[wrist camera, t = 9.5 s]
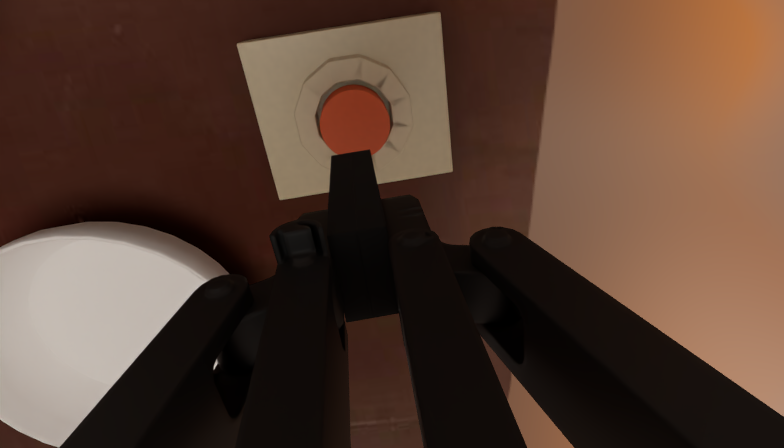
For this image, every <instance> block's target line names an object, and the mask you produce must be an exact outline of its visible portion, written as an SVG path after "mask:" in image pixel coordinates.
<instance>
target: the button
mask: <svg viewBox="0 0 784 448" xmlns="http://www.w3.org/2000/svg"><path fill="white" fill-rule="evenodd" d="M320 131H321V135H322V137H323V140H324V141H325V143H326V145H327V146H328V147H329V148H330V149H331V150H332V151H333V152H334V153H336V154H338V155H339V154H345V153H351V152H357V151H363V150H369V149H370V151H371V155H373V154H375V153H376V152H378V151H379V150H380V149H381V148H382V146H383V145H384V144H385V142H386V140H387V138H388V135H389V132H390V118H389V114H388V111H387V109H386V106H385V104H384V102H383V100H382V99H381V97H380V96H379V95H378V94H377V93H376V92H374V91H373V90H371V89H370V88H368V87H365V86H362V85H355V84H352V85H346V86H342V87H340V88H338V89H336V90H335V91H333V92H332V93H331V94H330V95H329V96H328V98H327V99H326V101H325V102H324V105H323V107H322V111H321V116H320Z"/></svg>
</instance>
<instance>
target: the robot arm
mask: <svg viewBox="0 0 784 448" xmlns="http://www.w3.org/2000/svg"><path fill="white" fill-rule="evenodd" d="M270 240H271V243H272V246H273V250H274V253H275V256H276V260H277V263H278V265H277V269H276V274H275V275H274V276H272V277H270V278H268V279H265V280H263V281H260V282H258V283H255V284H252V285H249V284H248V281H247V279H246V277H244V276H242V275H240V274H228V275H220V276H218V277H214V278H212V279H210V280H209V281H207V282H205V283H203V284H202V285H201V286H200V287H198V288H197V289H196V290H195V291H194V292H193V293H192V295H191V296H190V297H189V298H188V299H187V300H186V302H185V303H184V304H183V305H182V306H181V307H180V308H179V310H178V311H177V312H176V313H175V314H174V315H173V317H172V318H171V319H170V320H169V321H168V322H167V324H166V325H165V326H164V327H163V328H162V329H161V330H160V332H159V333H158V334H157V335H156V336H155V337H154V339H153V340H152V341H151V342H150V343H149V344H148V346H147V347H146V348H145V349H144V350H143V351H142V352H141V354H140V355H139V356H138V357H137V358H136V359H135V361H134V362H133V363H132V364H131V365H130V366H129V367H128V369H127V370H126V371H125V372H124V373H123V374H122V376H121V377H120V378H119V379H118V380H117V381H116V383H115V384H114V385H113V386H112V387H111V388H110V389H109V391H108V392H107V393H106V394H105V395H104V396H103V398H102V399H101V400H100V401H99V402H98V403H97V405H96V406H95V407H94V408H93V409H92V410H91V411H90V413H89V414H88V415H87V416H86V417H85V418H84V420H83V421H82V422H81V423H80V424H79V425H78V426H77V428H76V429H75V430H74V431H73V432H72V433H71V435H70V436H69V437H68V438H67V439H66V440H65V442H64V443H63V444H62V445H61V446H60V447H59V448H351V441H350V405H349V369H348V334H347V330H346V326H345V321H344V314H345V318H346V322H352V321H357V320H363V319H369V318H374V317H380V316H386V315H391V314H397V313H399V316H400V322H401V328H402V335H403V341H404V347H405V349H406V355H407V360H408V365H409V371H410V376H411V381H412V387H413V392H414V398H415V403H416V408H417V414H418V419H419V424H420V430H421V435H422V440H423V446H424V448H527V446H526V444H525V441H524V439H523V437H522V434H521V432H520V430H519V427H518V425H517V423H516V420H515V418H514V415H513V413H512V410H511V408H510V406H509V403H508V401H507V398H506V396H505V394H504V391H503V389H502V387H501V384H500V382H499V379H498V377H497V375H496V372H495V370H494V367H493V365H492V363H491V360H490V358H489V356H488V353H487V351H486V348H485V346H484V344H483V341H482V339H481V337H480V335H481V336H482V338H483V339H484V340H485V341H486V342H487V344H488V345H489V346H490V347H491V348H492V350H493V351H494V352H495V353H496V354H497V356H498V357H499V358H500V359H501V360H502V362H503V363H504V364H505V365H506V366H507V368H508V369H509V370H510V371H511V372H512V374H513V375H514V376H515V377H516V378H517V379H518V381H519V382H520V383H521V384H522V385H523V387H524V388H525V389H526V390H527V391H528V393H529V394H530V395H531V396H532V397H533V399H534V400H535V401H536V402H537V403H538V405H539V406H540V407H541V408H542V409H543V411H544V412H545V413H546V414H547V415H548V416H549V418H550V419H551V420H552V421H553V422H554V424H555V425H556V426H557V427H558V429H559V430H560V431H561V432H562V433H563V435H564V436H565V437H566V438H567V439H568V441H569V442H570V443H571V444H572V445H573V447H574V448H784V417H783V416H782V415H780V414H779V413H777V412H776V411H775V410H773V409H772V408H770V407H769V406H767V405H766V404H765V403H763V402H762V401H760V400H759V399H757V398H756V397H754V396H753V395H751V394H750V393H749V392H747V391H746V390H744V389H743V388H741V387H740V386H739V385H737V384H736V383H734V382H733V381H731V380H730V379H729V378H727V377H726V376H724V375H723V374H722V373H720V372H719V371H717V370H716V369H714V368H713V367H712V366H710V365H709V364H707V363H706V362H704V361H703V360H701V359H700V358H699V357H697V356H696V355H694V354H693V353H691V352H690V351H689V350H687V349H686V348H684V347H683V346H681V345H680V344H678V343H677V342H676V341H674V340H673V339H671V338H670V337H669V336H667V335H665V334H664V333H662V332H661V331H660V330H658V329H657V328H656V327H654V326H653V325H651V324H650V323H649V322H647V321H646V320H644V319H643V318H641V317H640V316H639V315H637V314H636V313H634V312H633V311H631V310H630V309H628V308H627V307H626V306H624V305H623V304H621V303H620V302H618V301H617V300H616V299H614V298H613V297H611V296H610V295H608V294H607V293H606V292H604V291H603V290H601V289H600V288H598V287H597V286H596V285H594V284H593V283H591V282H590V281H588V280H587V279H586V278H584V277H583V276H581V275H580V274H578V273H577V272H575V271H574V270H573V269H571V268H570V267H568V266H567V265H565V264H564V263H562V262H561V261H560V260H558V259H557V258H555V257H554V256H553V255H551V254H550V253H548V252H547V251H545V250H544V249H543V248H541V247H540V246H538V245H537V244H535V243H534V242H532V241H531V240H530V239H528V238H527V237H525V236H524V235H523V234H521V233H520V232H517V231H515V230H513V229H509V228H504V227H490V228H487V229H482V230H480V231H478V232H476V233H474V234H473V235H472V236H471V237H470V242H469V244H470V245H451V244H446V243H443V242H441V241H440V239H439V236H438V235H437V234H436V233H435V232H434V231H431V230H430V227H429V225H428V222H427V220H426V217H425V215H424V212H423V210H422V208H421V205H420V202H419V200H418V199H416V198H415V197H413V196H411V195H404V196H398V197H392V198H386V199H380V194H379V189H378V184H377V180H376V175H375V170H374V165H373V161H372V156H371V151H370V149H369V150H363V151H357V152H351V153H345V154H339V155H333V156H331V167H330V185H329V202H328V210H322V211H316V212H310V213H304V214H302V216H301V217H300V218H299V219H298V220H295V221H291V222H288V223H286V224H283V225H281V226H279V227H278V228H276V229H275V230H273V231H272V233H271V234H270ZM216 359H217V362H218V364H217V366H216V367H215V369H214V364H215V362H216Z"/></svg>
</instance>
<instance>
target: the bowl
mask: <svg viewBox="0 0 784 448" xmlns="http://www.w3.org/2000/svg"><path fill="white" fill-rule="evenodd" d="M228 274H229V273H228V272H227V271H226V270H225V269H224V268H223V267H222V266H221V265H220V264H219V263H218V262H216V261H215V260H214V259H212V258H211V257H210V256H208V255H207V254H206V253H204V252H203V251H201V250H200V249H199V248H197V247H195V246H193V245H191V244H189V243H187V242H185V241H183V240H181V239H179V238H177V237H175V236H173V235H170V234H167V233H164V232H161V231H158V230H155V229H152V228H149V227H146V226H140V225H134V224H128V223H122V222H83V223H77V224H71V225H65V226H59V227H54V228H49V229H43V230H39V231H37V232H34V233H32V234H29V235H26V236H24V237H21V238H19V239H16V240H13V241H11V242H10V243H8V244H6V245H4V246H2V247H0V420H1V421H3V422H5V423H6V424H8V425H9V426H11V427H13V428H14V429H16V430H17V431H19V432H21V433H24V434H26V435H28V436H30V437H32V438H35V439H37V440H39V441H41V442H43V443H46V444H49V445H53V446H56V447H60V446H61V445H62V444H63V443H64V442H65V440H66V439H67V438H68V437H69V436H70V435H71V433H72V432H73V431H74V430H75V429H76V428H77V426H78V425H79V424H80V423H81V422H82V421H83V420H84V418H85V417H86V416H87V415H88V414H89V413H90V411H91V410H92V409H93V408H94V407H95V406H96V405H97V403H98V402H99V401H100V400H101V399H102V398H103V396H104V395H105V394H106V393H107V392H108V391H109V389H110V388H111V387H112V386H113V385H114V384H115V383H116V381H117V380H118V379H119V378H120V377H121V376H122V374H123V373H124V372H125V371H126V370H127V369H128V367H129V366H130V365H131V364H132V363H133V362H134V361H135V359H136V358H137V357H138V356H139V355H140V354H141V352H142V351H143V350H144V349H145V348H146V347H147V346H148V344H149V343H150V342H151V341H152V340H153V339H154V337H155V336H156V335H157V334H158V333H159V332H160V330H161V329H162V328H163V327H164V326H165V325H166V324H167V322H168V321H169V320H170V319H171V318H172V317H173V315H174V314H175V313H176V312H177V311H178V310H179V308H180V307H181V306H182V305H183V304H184V303H185V302H186V300H187V299H188V298H189V297H190V296H191V295H192V293H193V292H194V291H195V290H196V289H197V288H198V287H200V286H201V285H202V284H203V283H205V282H207V281H209V280H210V279H212V278H214V277H218V276H220V275H228ZM217 364H218V362H217V359H216V362H215V364H214V369H215V367H216V366H217Z"/></svg>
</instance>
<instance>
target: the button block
mask: <svg viewBox="0 0 784 448" xmlns="http://www.w3.org/2000/svg"><path fill="white" fill-rule="evenodd" d="M237 48H238V51H239V55H240V59H241V62H242V66H243V70H244V73H245V77H246V80H247V84H248V88H249V91H250V95H251V99H252V102H253V106H254V109H255V113H256V117H257V120H258V124H259V128H260V131H261V135H262V138H263V142H264V146H265V149H266V153H267V157H268V160H269V164H270V167H271V171H272V175H273V178H274V182H275V185H276V189H277V193H278V196H279V200H284V199H290V198H296V197H302V196H308V195H314V194H320V193H326V192H329V185H330V167H331V156H333V155H338V154H336V153H334V152H333V151H332V150H331V149H330V148H329V147H328V146H327V145H326V143H325V141H324V140H323V137H322V135H321V131H320V116H321V111H322V107H323V105H324V102H325V101H326V99H327V98H328V96H329V95H330V94H331V93H332V92H333V91H335V90H336V89H338V88H340V87H342V86H346V85H352V84H355V85H362V86H365V87H368V88H370V89H371V90H373V91H374V92H376V93H377V94H378V95H379V96H380V97H381V99H382V100H383V102H384V104H385V106H386V109H387V111H388V114H389V118H390V132H389V135H388V138H387V140H386V142H385V144H384V145H383V146H382V148H381V149H380V150H379V151H378V152H376V153H375V154H373V155H371V156H372V161H373V165H374V170H375V175H376V180H377V184H381V183H387V182H393V181H399V180H405V179H412V178H418V177H424V176H430V175H436V174H442V173H448V172H453V167H452V154H451V141H450V128H449V115H448V102H447V89H446V76H445V63H444V51H443V38H442V25H441V13H440V12H427V13H420V14H414V15H407V16H401V17H394V18H388V19H381V20H375V21H368V22H362V23H356V24H349V25H343V26H336V27H330V28H323V29H317V30H310V31H304V32H297V33H291V34H284V35H278V36H271V37H265V38H258V39H252V40H246V41H242V42H240V43H237Z"/></svg>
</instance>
